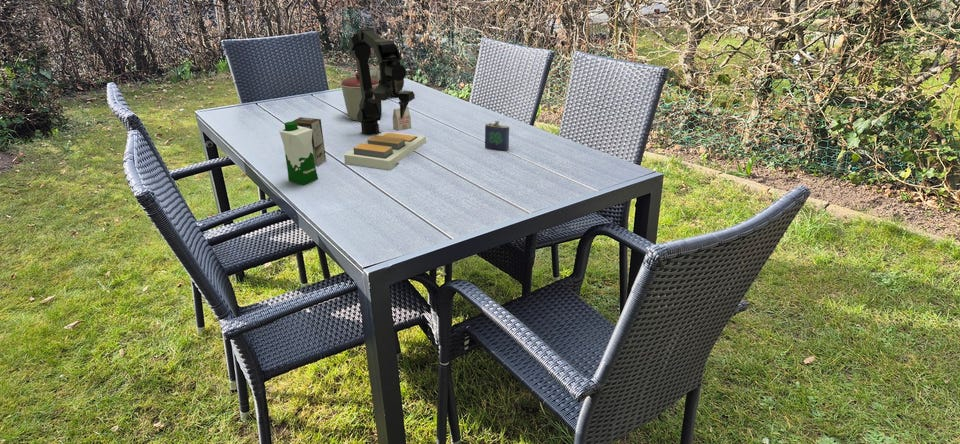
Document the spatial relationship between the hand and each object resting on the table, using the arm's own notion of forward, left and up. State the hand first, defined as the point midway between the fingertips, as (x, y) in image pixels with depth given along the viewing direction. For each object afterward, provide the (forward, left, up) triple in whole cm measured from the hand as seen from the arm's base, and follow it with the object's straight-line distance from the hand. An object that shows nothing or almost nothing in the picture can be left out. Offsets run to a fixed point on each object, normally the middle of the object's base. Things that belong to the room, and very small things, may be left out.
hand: (391, 117), depth 221 cm
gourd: (-48, +77, -14) cm, 92 cm away
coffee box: (-22, -22, -14) cm, 34 cm away
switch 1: (0, -14, -10) cm, 18 cm away
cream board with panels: (-2, -4, -13) cm, 14 cm away
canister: (-34, +35, -14) cm, 51 cm away
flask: (+38, +16, -14) cm, 43 cm away
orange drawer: (0, -4, -10) cm, 11 cm away
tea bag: (-8, +24, -14) cm, 29 cm away
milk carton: (-14, -38, -14) cm, 43 cm away
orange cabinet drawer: (0, +6, -12) cm, 14 cm away
